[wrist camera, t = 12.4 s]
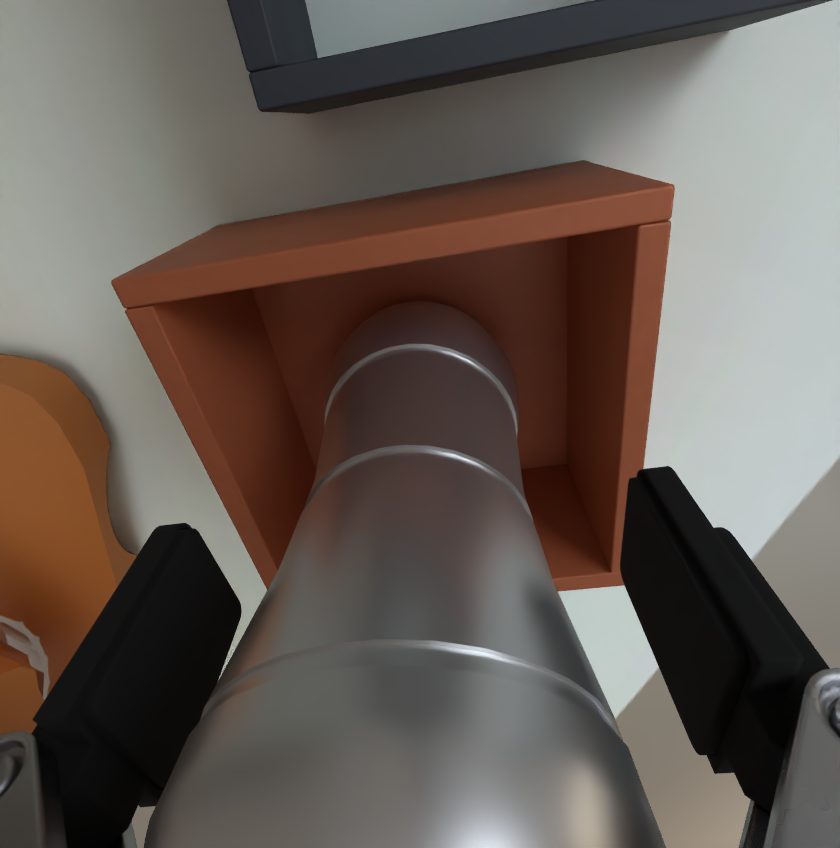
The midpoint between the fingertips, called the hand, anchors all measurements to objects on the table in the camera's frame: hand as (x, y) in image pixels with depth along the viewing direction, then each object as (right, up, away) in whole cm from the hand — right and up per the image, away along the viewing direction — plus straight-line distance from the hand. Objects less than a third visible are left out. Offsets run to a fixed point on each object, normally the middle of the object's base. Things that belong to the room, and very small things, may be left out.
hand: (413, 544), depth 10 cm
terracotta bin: (0, +5, +9) cm, 10 cm away
